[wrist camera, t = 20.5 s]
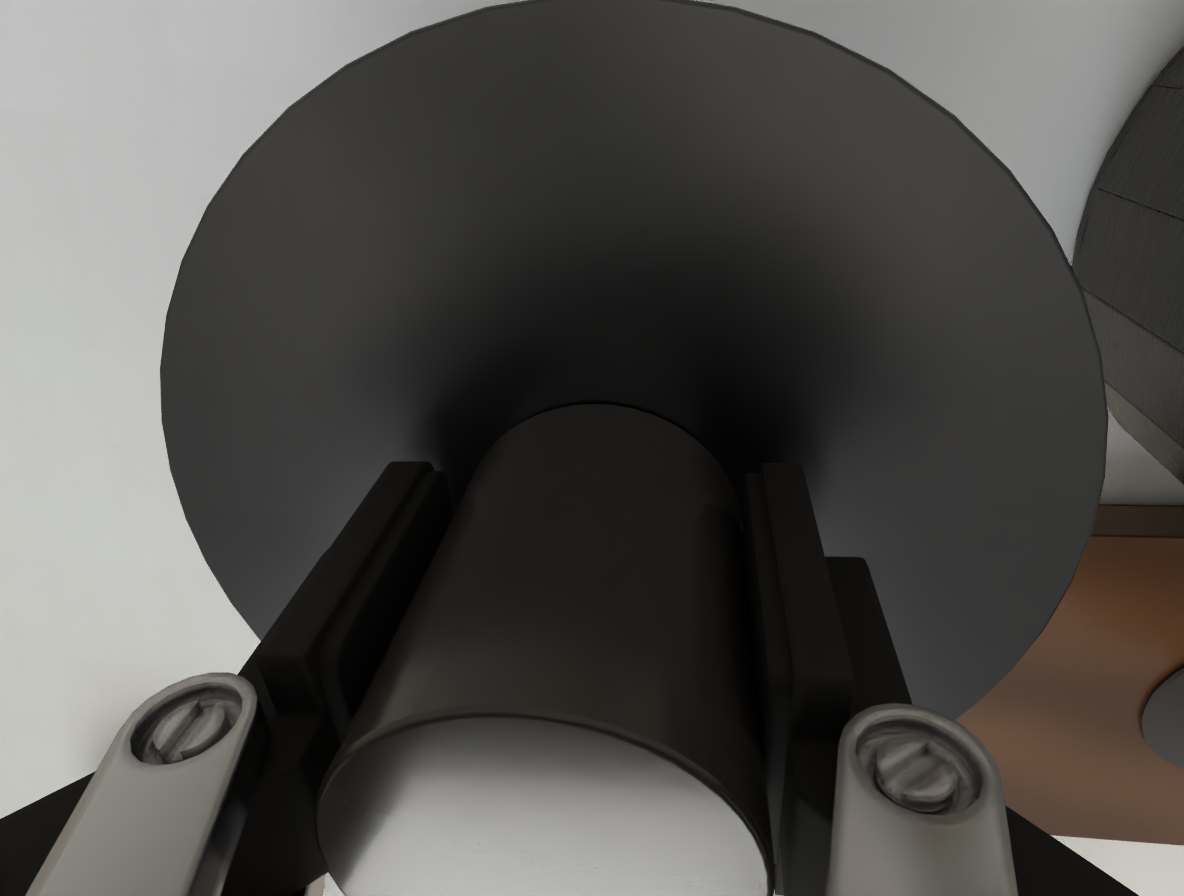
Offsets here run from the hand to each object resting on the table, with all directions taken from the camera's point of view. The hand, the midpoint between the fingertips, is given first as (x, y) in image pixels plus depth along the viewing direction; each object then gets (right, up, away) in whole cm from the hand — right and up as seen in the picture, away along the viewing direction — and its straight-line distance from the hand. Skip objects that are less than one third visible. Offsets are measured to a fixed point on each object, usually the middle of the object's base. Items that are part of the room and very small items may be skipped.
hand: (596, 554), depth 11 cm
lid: (0, +1, +1) cm, 1 cm away
